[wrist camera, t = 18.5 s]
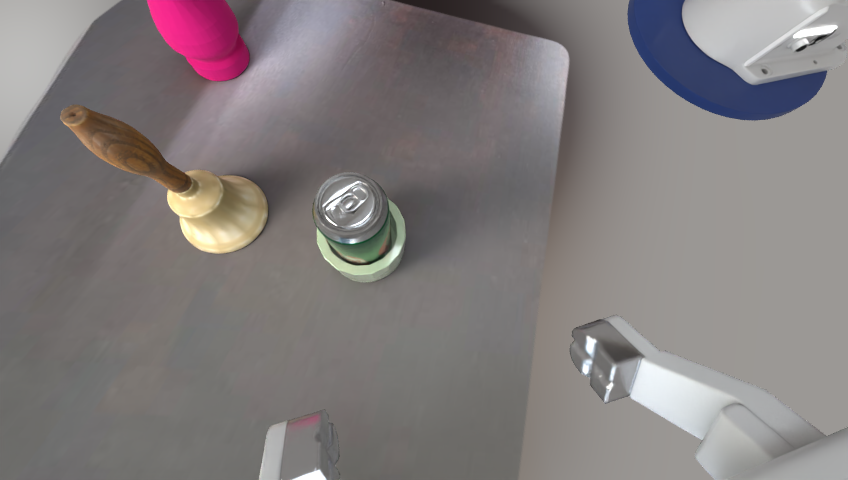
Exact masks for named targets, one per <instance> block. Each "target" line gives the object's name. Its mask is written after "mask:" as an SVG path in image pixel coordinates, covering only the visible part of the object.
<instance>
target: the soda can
mask: <svg viewBox="0 0 848 480" xmlns="http://www.w3.org/2000/svg"><path fill="white" fill-rule="evenodd" d="M312 212H313V219H314V222H315V224H316V227H317V228H318V230H319V231H320V232H321V234H322V235H323V236H324V237H325V238H326V240H327V241H328V242H329V243H330V244H331V246H332V247H333V248H334V249H335V250H336V252H337V253H338V254H339V255H340V256H341V257H342V259H343V260H344V261H345V262H346V263H349V264H352V265H355V266H359V265H370V264H373V263H375V262H377V261H379V260H381V259H383V258H384V257H385V256H386V255H387V254H388V252H389V251H390V250H391V249H392V237H391V224H390V212H389V202H388V199H387V196H386V194H385V192H384V190H383V189H382V188H381V187H380V185H379V184H378V183H376V182H375V181H374V180H372V179H370V178H368V177H367V176H365V175H362V174H360V173H355V172H344V173H339V174H336V175H334V176H332V177H330V178H329V179H327V180H326V181H325V182H324V183H323V184H322V185H321V186H320V188H319V189H318V191H317V193H316V196H315V199H314V203H313V209H312Z"/></svg>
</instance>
